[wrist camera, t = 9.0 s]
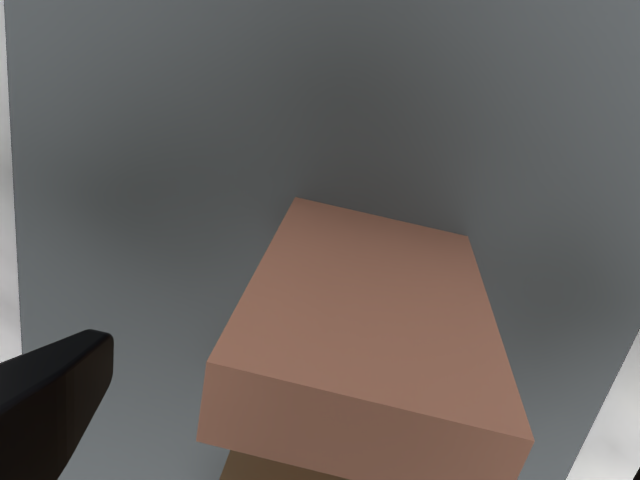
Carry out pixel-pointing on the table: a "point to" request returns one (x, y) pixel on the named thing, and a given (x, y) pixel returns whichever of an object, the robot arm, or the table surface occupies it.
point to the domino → (366, 356)
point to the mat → (320, 184)
